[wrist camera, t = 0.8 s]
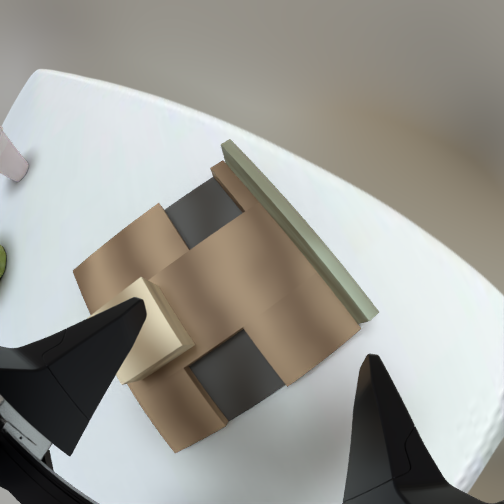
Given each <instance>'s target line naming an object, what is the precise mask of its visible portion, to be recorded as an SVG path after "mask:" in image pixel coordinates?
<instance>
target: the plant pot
mask: <svg viewBox="0 0 504 504" xmlns="http://www.w3.org/2000/svg"><path fill="white" fill-rule="evenodd" d="M5 265H6V253H5V251H4V249H3V247H2V246H1V245H0V277H1V276H2V275H3V273H4V270H5Z"/></svg>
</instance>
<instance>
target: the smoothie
mask: <svg viewBox="0 0 504 504" xmlns="http://www.w3.org/2000/svg"><path fill="white" fill-rule="evenodd" d="M28 167H29V164H28V162H27V161H26V160H25V159H24V158H23V156H22V155H21V154H20V152H19V151H18V150H17V149H16V147H15V146H14V145H13V143H12V142H11V141H10V139H9V138H8V137H7V135H6V134H5V133H4V132H3V127H2V126H1V125H0V173H1V174H3V175H5V176H7V177H8V178H10V179H12V180H14V181H16V182H18V181H20V180H21V179H22V178H23V177H24V176H25V174H26V172H27V170H28Z"/></svg>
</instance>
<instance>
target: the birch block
mask: <svg viewBox="0 0 504 504" xmlns="http://www.w3.org/2000/svg"><path fill="white" fill-rule="evenodd" d="M133 297H138V298H141V299H143V300H144V303H145V307H146V312H147V317H146V320H145V322H144V324H143V326H142V328H141V330H140V333H139V335H138V337H137V339H136V341H135V343H134V345H133V347H132V349H131V350H130V352H129V354H128V355H127V357H126V359H125V360H124V362H123V364H122V365H121V367H120V369H119V370H118V372H117V374H116V376H117V378H118V379H119V381H120V383H121V384H122V385H124V384H128V383H132V382H137V381H141V380H143V379H144V378H146V377H147V376H149V375H151V374H152V373H154V372H155V371H157V370H158V369H160V368H161V367H163V366H164V365H166V364H167V363H169V362H170V361H172V360H174V359H175V358H177V357H178V356H180V355H181V354H183V353H184V352H185V351H187V350H188V349H190V348H191V347H193V346H194V345H195V344H194V342H193V341H192V339H191V338H190V336H189V335H188V333H187V331H186V330H185V328H184V327H183V325H182V324H181V322H180V321H179V319H178V317H177V316H176V314H175V313H174V311H173V309H172V308H171V306H170V305H169V303H168V301H167V300H166V298H165V296H164V295H163V293H162V291H161V290H160V288H159V286H157V285H156V284H154V283H152V282H150V281H148V280H146V279H144V278H143V277H140V278H139V279H138V280H136V281H135V282H134V283H132V284H131V285H130V286H128V287H127V288H126V289H124V290H123V291H122V292H120V293H119V294H118V295H116V296H115V297H114V298H113V299H111V300H110V301H109V302H107V303H106V304H105V305H104V306H102V307H101V308H100V309H98V310H97V311H96V312H95V313H93V314H92V315H91V316H90V317H92V316H94V315H96V314H98V313H100V312H103V311H105V310H107V309H109V308H111V307H113V306H115V305H118V304H120V303H122V302H124V301H126V300H128V299H130V298H133ZM90 317H88V318H90ZM88 318H87V319H88Z"/></svg>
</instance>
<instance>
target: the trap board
mask: <svg viewBox="0 0 504 504" xmlns="http://www.w3.org/2000/svg"><path fill="white" fill-rule="evenodd" d="M221 147H222V151H223V155H224V159H225V162H226V163H225V162H224V161H221V162H219V163H218V164H216V165H215V166H213V167H211V168H210V169H211V172H212V175H213V177H212V178H211V179H209V180H208V181H206V182H205V183H203V184H202V185H200V186H199V187H197V188H196V189H194V190H193V191H191V192H190V193H188V194H187V195H185V196H184V197H182V198H181V199H179V200H178V201H177V202H175V203H174V204H172V205H171V206H169V207H168V208H167V209H165V210H164V209H163V208H162V206H161V205H160V204H159V203H158V204H157V205H155V206H154V207H152V208H151V209H150V210H148V211H147V212H146V213H144V214H143V215H142V216H140V217H139V218H138V219H136V220H135V221H134V222H132V223H131V224H130V225H128V226H127V227H126V228H124V229H123V230H122V231H120V232H119V233H118V234H117V235H115V236H114V237H113V238H112V239H110V240H109V241H108V242H107V243H105V244H104V245H103V246H102V247H100V248H99V249H98V250H97V251H95V252H94V253H93V254H92V255H91V256H89V257H88V258H87V259H86V260H85V261H84V262H82V263H81V264H80V265H79V266H78V267H77V268H75V269H74V270H73V273H74V276H75V278H76V281H77V284H78V286H79V289H80V291H81V294H82V296H83V298H84V301H85V303H86V305H87V308H88V310H89V312H90V314H91V315H92V314H93V313H95V312H96V311H97V310H98V309H100V308H101V307H102V306H104V305H105V304H106V303H107V302H109V301H110V300H111V299H113V298H114V297H115V296H116V295H118V294H119V293H120V292H122V291H123V290H124V289H126V288H127V287H128V286H130V285H131V284H132V283H134V282H135V281H136V280H138V279H139V278H140V277H143V278H144V279H146V280H148V281H150V282H152V283H154V284H156V285H157V286H159V288H160V290H161V291H162V293H163V295H164V296H165V298H166V300H167V301H168V303H169V305H170V306H171V308H172V309H173V311H174V313H175V314H176V316H177V317H178V319H179V321H180V322H181V324H182V325H183V327H184V328H185V330H186V331H187V333H188V335H189V336H190V338H191V339H192V341H193V342H194V344H195V345H194V346H193V347H191V348H190V349H188V350H187V351H185V352H184V353H183V354H181V355H180V356H178V357H177V358H175V359H174V360H172V361H170V362H169V363H167V364H166V365H164V366H163V367H161V368H160V369H158V370H157V371H155V372H154V373H152V374H151V375H149V376H147V377H146V378H144V379H143V380H141V381H137V382H132V383H128V384H127V385H128V386H129V388H130V390H131V391H132V393H133V395H134V396H135V398H136V399H137V401H138V402H139V404H140V405H141V407H142V408H143V410H144V411H145V413H146V414H147V416H148V417H149V419H150V420H151V422H152V423H153V425H154V426H155V427H156V429H157V430H158V432H159V433H160V434H161V436H162V437H163V438H164V440H165V441H166V442H167V444H168V445H169V446H170V447H171V449H172V450H173V451H174V453H177V452H179V451H181V450H183V449H185V448H187V447H189V446H191V445H192V444H194V443H196V442H198V441H200V440H202V439H204V438H206V437H208V436H209V435H211V434H213V433H215V432H217V431H218V430H220V429H222V428H224V427H225V426H226V425H227V423H228V422H229V421H230V420H232V419H233V418H235V417H237V416H238V415H240V414H241V413H243V412H245V411H246V410H248V409H249V408H251V407H253V406H254V405H256V404H257V403H259V402H260V401H262V400H263V399H265V398H266V397H268V396H269V395H271V394H272V393H274V392H275V391H277V390H278V389H280V388H281V387H283V386H284V385H285V384H286V386H287V387H288V386H289V385H291V384H292V383H293V382H295V381H296V380H297V379H299V378H300V377H302V376H303V375H304V374H306V373H307V372H308V371H310V370H311V369H312V368H314V367H315V366H316V365H318V364H319V363H320V362H321V361H323V360H324V359H325V358H327V357H328V356H329V355H330V354H332V353H333V352H334V351H335V350H336V349H338V348H339V347H340V346H341V345H343V344H344V343H345V342H346V341H347V340H349V339H350V338H351V337H352V336H353V335H354V334H356V333H357V332H358V331H359V330H360V329H361V328H360V326H359V325H358V324H359V323H364V322H368V321H370V320H371V319H372V318H373V317H375V316H376V315H377V314H378V313H379V311H378V310H377V309H376V307H375V306H374V305H373V303H372V302H371V301H370V299H369V298H368V297H367V295H366V294H365V293H364V292H363V290H362V289H361V288H360V287H359V285H358V284H357V283H356V281H355V280H354V279H353V278H352V276H351V275H350V274H349V273H348V271H347V270H346V269H345V268H344V266H343V265H342V264H341V263H340V261H339V260H338V259H337V258H336V257H335V255H334V254H333V253H332V252H331V251H330V249H329V248H328V247H327V246H326V245H325V243H324V242H323V241H322V240H321V239H320V237H319V236H318V235H317V234H316V233H315V231H314V230H313V229H312V228H311V227H310V226H309V224H308V223H307V222H306V221H305V220H304V219H303V218H302V216H301V215H300V214H299V213H298V212H297V211H296V210H295V208H294V207H293V206H292V205H291V204H290V203H289V202H288V200H287V199H286V198H285V197H284V196H283V195H282V194H281V193H280V192H279V190H278V189H277V188H276V187H275V186H274V185H273V184H272V183H271V182H270V181H269V180H268V178H267V177H266V176H265V175H264V174H263V173H262V172H261V171H260V170H259V169H258V168H257V167H256V166H255V164H254V163H253V162H252V161H251V160H250V159H249V158H248V157H247V156H246V155H245V154H244V153H243V152H242V151H241V150H240V149H239V148H238V147H237V146H236V145H235V144H234V143H233V141H232V140H231V139H229V140H227V141H226V142H224V143H222V144H221Z"/></svg>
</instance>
